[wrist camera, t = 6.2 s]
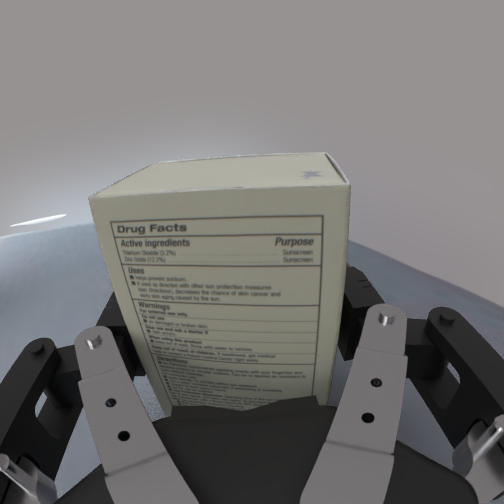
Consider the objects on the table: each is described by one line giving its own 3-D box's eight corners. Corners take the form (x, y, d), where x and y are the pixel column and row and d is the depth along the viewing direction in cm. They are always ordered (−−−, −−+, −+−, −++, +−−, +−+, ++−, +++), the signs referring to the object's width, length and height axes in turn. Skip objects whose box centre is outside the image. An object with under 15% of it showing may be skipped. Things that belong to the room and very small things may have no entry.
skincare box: (316, 398, 15) (336, 151, 10) (314, 471, 11) (363, 181, 6) (200, 390, 16) (155, 158, 10) (177, 456, 12) (81, 192, 7)
